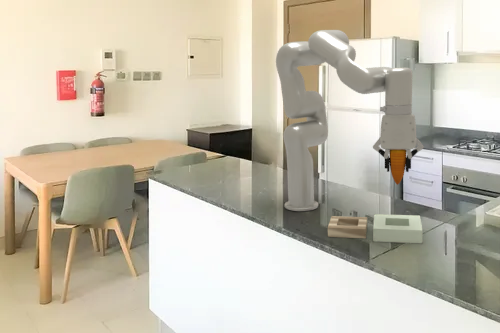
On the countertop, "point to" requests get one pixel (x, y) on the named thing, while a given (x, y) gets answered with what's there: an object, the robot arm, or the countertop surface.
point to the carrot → (397, 164)
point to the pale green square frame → (397, 228)
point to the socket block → (347, 227)
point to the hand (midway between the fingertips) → (397, 170)
